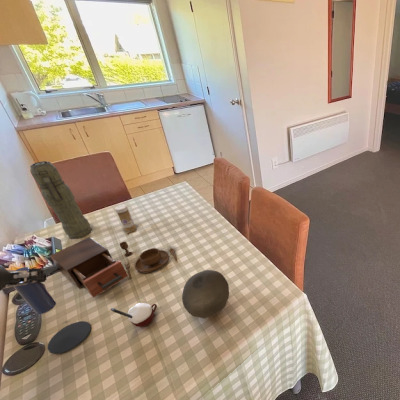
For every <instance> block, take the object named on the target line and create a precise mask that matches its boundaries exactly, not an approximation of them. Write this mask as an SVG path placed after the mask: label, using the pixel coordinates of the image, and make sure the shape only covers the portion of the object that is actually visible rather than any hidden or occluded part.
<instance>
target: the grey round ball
mask: <svg viewBox="0 0 400 400" xmlns="http://www.w3.org/2000/svg"><path fill="white" fill-rule="evenodd" d="M181 295H182V296H181V302H182V305H183V308H184V309H185V310H186V311H187V313H188V314H189V315H190V316H192V317H195V318H199V319H209V318H212V317H214V316H215V315H217V314H219V313H221V311H222V310H223V309H224V308H225V307H226V305H227V303H228V300H229V298H230V286H229V283H228V280H227V279H226V277H225V276H224V275H223V273H221V272H220V271H217V270H214V269H205V270H202V271H199V272H196V273H195V274H193V275H192V276H190V278H188V279H187V281H186V282H185V284H184V286H183V289H182V294H181Z"/></svg>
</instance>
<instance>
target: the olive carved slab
mask: <svg viewBox="0 0 400 400" xmlns="http://www.w3.org/2000/svg"><path fill="white" fill-rule="evenodd" d="M29 167H30V174H31V175H32V177H33V179H34V181H35V182H36V183H37V185H38V186H39V188H40V191H41V195H42V197H43V199H44V200H45V202H46V203H47V205H48V206H49V207H51V209H52V210H53V212H54V214H55V215H56V217H57V218H58V220H59V222H60V224H61V227H62V229H63V231H64V232H65V234H66V235H67V236H68V238H69V239H70V240H79V239H81V238H83V237H84V238H85V237H86V236H89V235H90V234H91V233H92V232H93V228H92V227H91V224H90V222H89V220H88V219H87V217H85V216H84V213H82V210H81V209H80V207H79V205H78V204H77V202H76V200H75V195H74V194H73V191H72V189H71V188H70V186H69V185H68V184H66V183H65V181H64V180H63V177H62V176H61V174H60V172H59V170H58V168H57V166H55V165H54V164H53V163H52V162H51V161H47V160H43V161H37V162H35V163H32V164H31V165H30V166H29ZM91 231H92V232H91ZM89 233H90V234H89Z"/></svg>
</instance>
